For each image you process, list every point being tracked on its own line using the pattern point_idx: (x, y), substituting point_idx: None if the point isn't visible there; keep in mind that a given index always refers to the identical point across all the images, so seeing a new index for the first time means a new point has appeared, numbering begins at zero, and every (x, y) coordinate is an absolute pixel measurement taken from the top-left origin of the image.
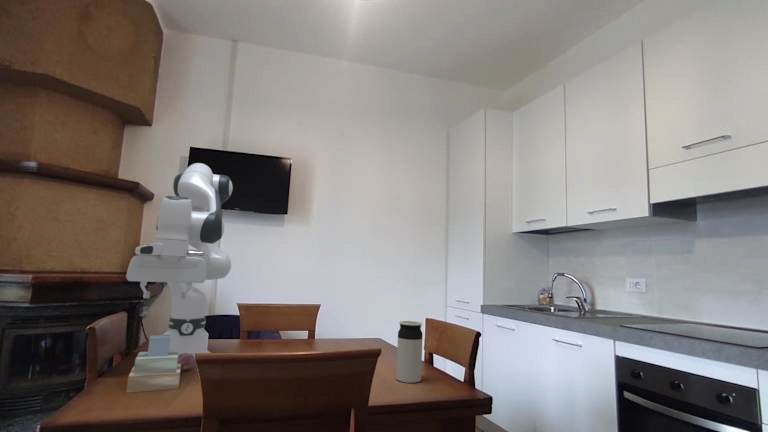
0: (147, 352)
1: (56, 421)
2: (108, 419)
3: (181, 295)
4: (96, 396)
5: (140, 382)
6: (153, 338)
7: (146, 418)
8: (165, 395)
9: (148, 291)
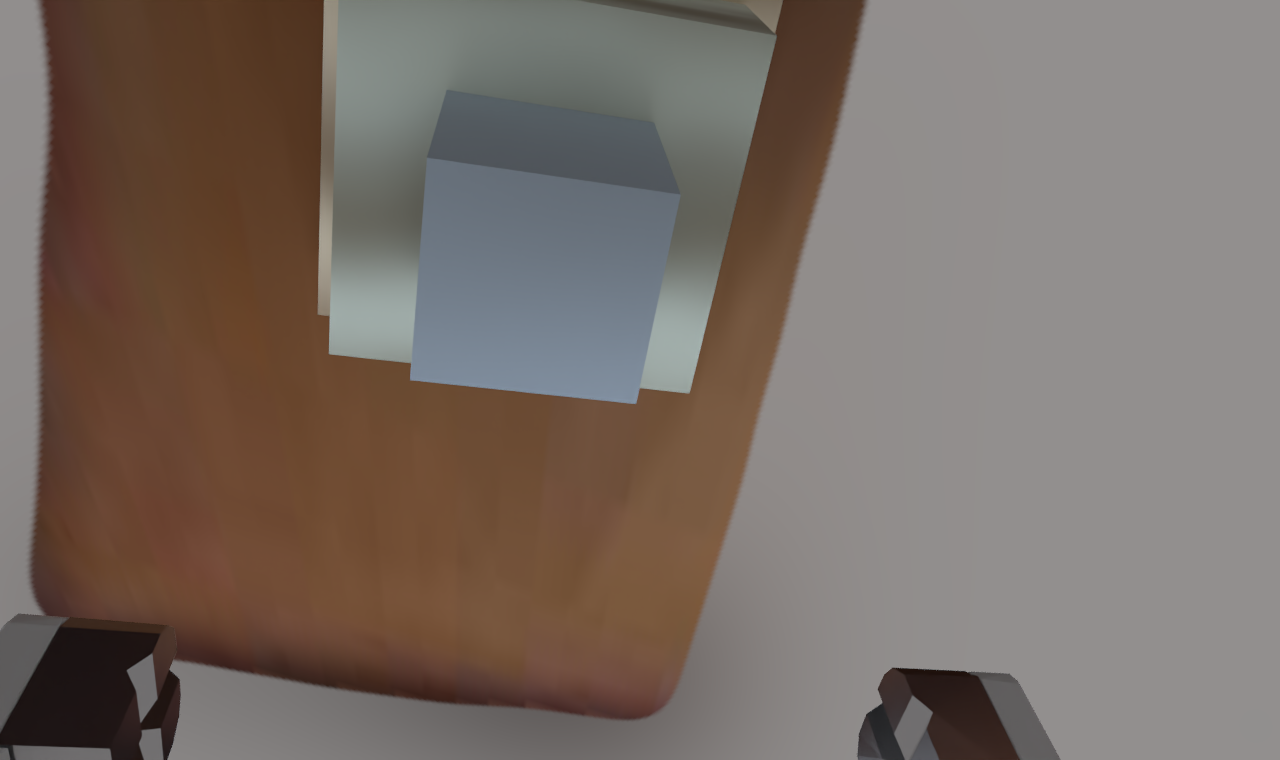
0: (432, 42)
1: (69, 606)
2: (303, 655)
3: (918, 714)
4: (151, 267)
5: None
6: (453, 382)
7: (464, 693)
8: (580, 415)
9: (56, 749)
